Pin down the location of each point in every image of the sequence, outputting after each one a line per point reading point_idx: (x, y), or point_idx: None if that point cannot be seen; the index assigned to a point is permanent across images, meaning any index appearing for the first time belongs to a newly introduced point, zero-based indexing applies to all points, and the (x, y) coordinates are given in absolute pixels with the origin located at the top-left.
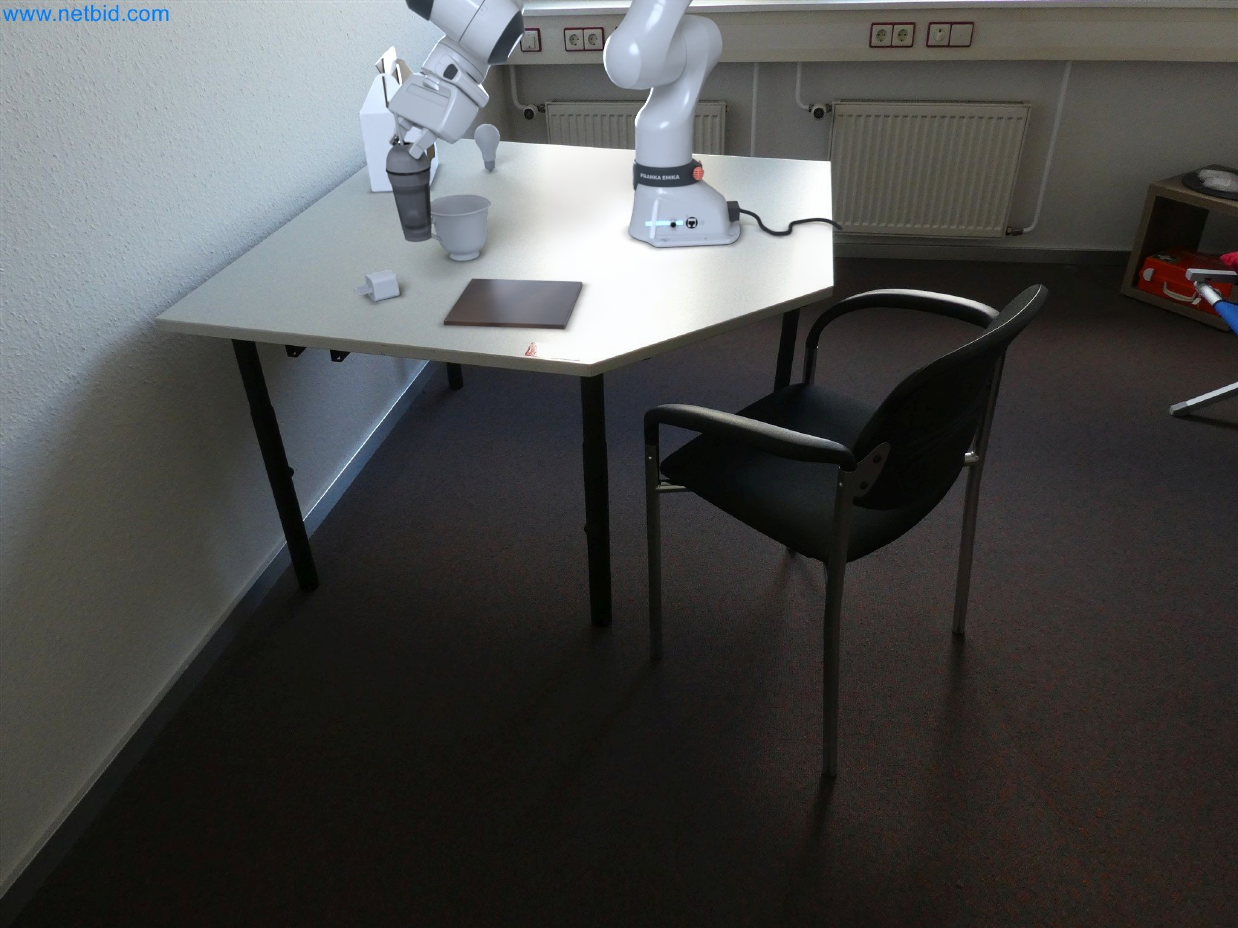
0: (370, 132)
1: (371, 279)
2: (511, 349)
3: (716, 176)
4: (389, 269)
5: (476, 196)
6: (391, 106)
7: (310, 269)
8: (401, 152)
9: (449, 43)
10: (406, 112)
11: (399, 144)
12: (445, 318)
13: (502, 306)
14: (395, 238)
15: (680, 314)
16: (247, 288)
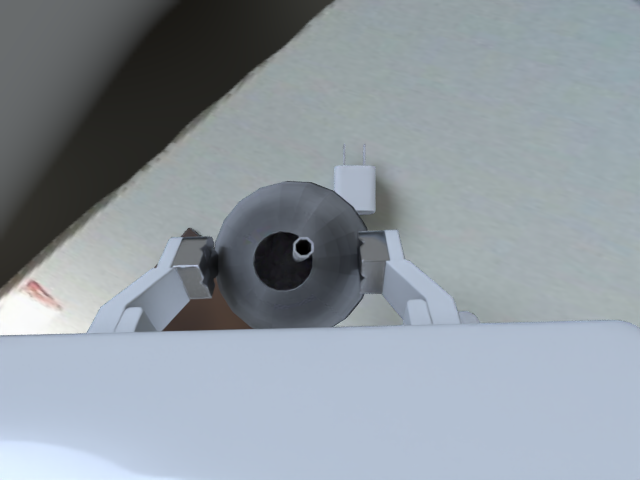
0: None
1: (342, 166)
2: (60, 273)
3: None
4: (368, 210)
5: None
6: (598, 336)
7: (546, 131)
8: (239, 224)
9: None
10: (356, 346)
11: (332, 254)
12: (194, 233)
13: (181, 327)
14: (611, 316)
15: None
16: (523, 18)
